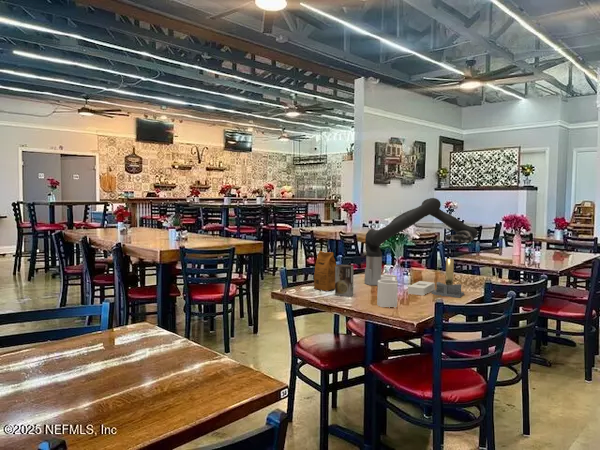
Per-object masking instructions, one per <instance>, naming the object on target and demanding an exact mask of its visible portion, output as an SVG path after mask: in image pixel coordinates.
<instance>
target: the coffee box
mask: <svg viewBox="0 0 600 450" xmlns="http://www.w3.org/2000/svg"><path fill="white" fill-rule="evenodd" d="M336 265H337V266H335V289H334V296H339V295H340V297H342V296H344V297H352V296H353V295H354V264H351V265H350V264H336Z"/></svg>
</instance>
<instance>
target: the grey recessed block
mask: <svg viewBox="0 0 600 450" xmlns="http://www.w3.org/2000/svg"><path fill="white" fill-rule="evenodd" d="M434 290H436V283H435V282H432V281H431V282H430V281H424V280H423V281H422V280H419V281H417V282H414V283H413V284H411V285H408V286H407V294H410V295H417V296H423V295H424V296H425V294H426V295H427V293H428V294H430V293H432V291H434Z"/></svg>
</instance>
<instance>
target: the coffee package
mask: <svg viewBox="0 0 600 450" xmlns="http://www.w3.org/2000/svg"><path fill="white" fill-rule="evenodd" d="M334 255H335V253H334V252H332V251H331V252H330V251H329V252H328V251H327V252H325V251H322V250H319V252H318V254H317V257H316V262H315V264H314V273H313V274H314V275H313V280H314V281H313V283H314V284H313V289H314V290H319V291H321V290H322V291H323V292H330V291H331V290H332V291H333V290H335V266H337V265H338V264H337V263H336V262H337V261H336V259H335V257H334Z"/></svg>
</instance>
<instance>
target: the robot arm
mask: <svg viewBox="0 0 600 450" xmlns="http://www.w3.org/2000/svg"><path fill="white" fill-rule="evenodd" d="M441 205H442V204H441V201H440V199H438V198H437V197H436V198H435V197H430V198H427V199H425V200H423V201H422V203H421V205H419V206H417V207H415V208H411V209H409V210H407V211H405V212H403V213H400V214H399V215H398V216H396V217H395V218H393V219H392V220H391V221H390V222H389V223H388V224H387V225H385V226H384V227H382V228H379V229H377V230H376V229H370V230H368V231H367V232H366V234H365V238H364V239H365V241H364V243H365V247H364V248H365V253H366V256H365V257H366V258H365V259H366V261H365V263H366V264H365V266H366V267H365V268H364V284H365V285H368V286H378V280H381V275H382V265H383V262H382V259H383V258H382V255H383V252H382V251H381V248H380V246H381V245H382V244H384V243H385V242H386V241H388V240H389V239H390V238H391V237H393V236H395V235H397V234H399V233H400V232H403V231H405V230H407V229H408V228H410V227H412V226H413V225H415V224H417V222H420V221H421V220H422V219H424V218H426V217H428V216H432V217H434V218H435V219H437V220H438V221H440V222H442V224H443V225H444V224H445V225H446V226H447V227H449V228H450V229H451V230H452V231H454V232H455V234H446V235H445V240H446V241H452V242H456V243H458V244H470V243H471V242H472V241H473V240H475V238H477V236H478V234H479V232H478V230H477V229H476V228H475V227H472V226H470V225H468V224H465V223H463V222H462V221H461V220H459V219H458V218H457V217H455V216H453V215H451V214H449V213H447V212H445V211H444V210H442V209H441V207H442V206H441Z"/></svg>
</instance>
